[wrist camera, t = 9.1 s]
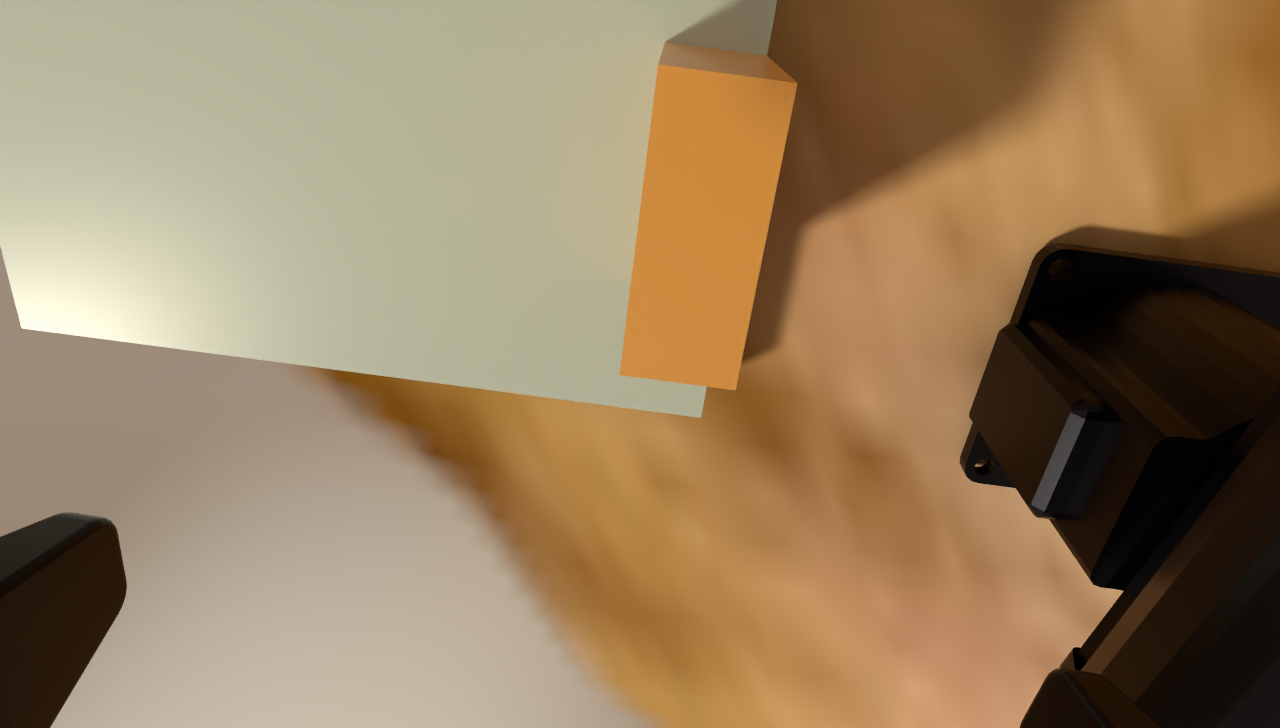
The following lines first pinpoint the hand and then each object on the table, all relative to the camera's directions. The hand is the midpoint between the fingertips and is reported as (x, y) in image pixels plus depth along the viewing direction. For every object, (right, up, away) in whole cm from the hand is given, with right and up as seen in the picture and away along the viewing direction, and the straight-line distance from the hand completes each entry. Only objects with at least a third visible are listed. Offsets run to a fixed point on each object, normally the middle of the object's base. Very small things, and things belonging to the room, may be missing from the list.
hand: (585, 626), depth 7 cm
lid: (-5, +8, +10) cm, 14 cm away
